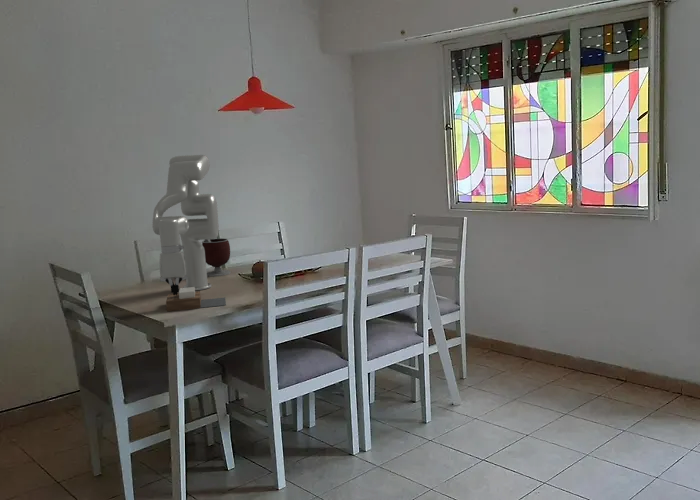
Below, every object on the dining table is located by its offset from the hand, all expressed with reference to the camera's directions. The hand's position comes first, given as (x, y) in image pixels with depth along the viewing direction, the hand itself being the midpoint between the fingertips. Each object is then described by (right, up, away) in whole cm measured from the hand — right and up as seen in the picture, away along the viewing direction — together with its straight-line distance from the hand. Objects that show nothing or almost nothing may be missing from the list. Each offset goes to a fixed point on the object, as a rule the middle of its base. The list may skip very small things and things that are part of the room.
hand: (175, 294), depth 276 cm
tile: (+5, -1, +1) cm, 5 cm away
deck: (+3, -5, +1) cm, 6 cm away
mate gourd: (+3, +6, +69) cm, 69 cm away
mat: (+15, -4, +4) cm, 15 cm away
